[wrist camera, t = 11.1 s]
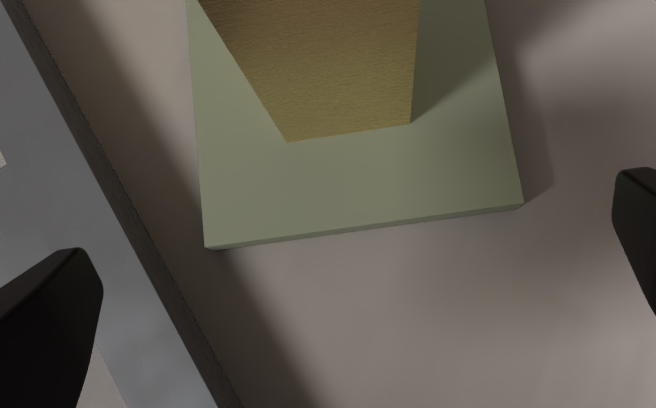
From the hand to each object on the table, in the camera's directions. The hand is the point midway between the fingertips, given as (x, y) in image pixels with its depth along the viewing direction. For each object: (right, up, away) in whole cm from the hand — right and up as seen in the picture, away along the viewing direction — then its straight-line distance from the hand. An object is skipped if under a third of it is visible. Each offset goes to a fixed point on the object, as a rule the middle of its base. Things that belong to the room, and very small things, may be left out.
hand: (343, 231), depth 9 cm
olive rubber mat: (0, +4, +10) cm, 11 cm away
